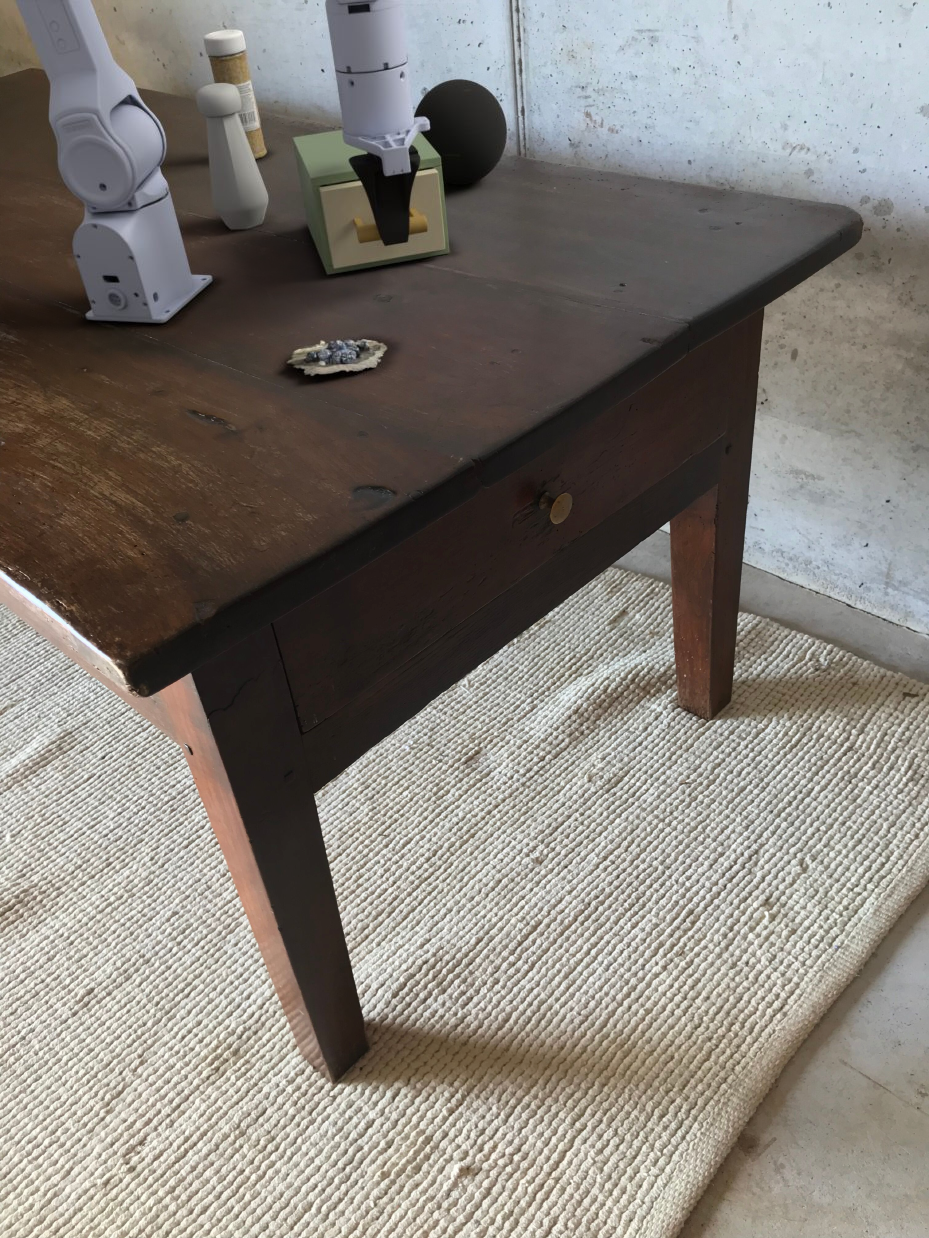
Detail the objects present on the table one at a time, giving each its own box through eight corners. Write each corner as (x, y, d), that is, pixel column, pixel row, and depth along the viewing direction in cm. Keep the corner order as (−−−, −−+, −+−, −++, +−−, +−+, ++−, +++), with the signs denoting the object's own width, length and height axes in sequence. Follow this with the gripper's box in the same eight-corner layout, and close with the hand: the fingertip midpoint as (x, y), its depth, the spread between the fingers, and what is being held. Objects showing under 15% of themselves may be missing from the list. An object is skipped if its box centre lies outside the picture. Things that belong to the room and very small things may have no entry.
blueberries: (274, 363, 81) (269, 341, 79) (359, 330, 84) (356, 308, 83) (319, 392, 76) (314, 368, 75) (406, 356, 80) (403, 333, 78)
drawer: (456, 265, 91) (449, 186, 86) (340, 286, 89) (327, 206, 85) (417, 207, 103) (409, 135, 99) (315, 224, 102) (302, 152, 97)
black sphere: (399, 185, 112) (387, 84, 105) (471, 161, 116) (464, 64, 110) (454, 204, 106) (445, 99, 99) (528, 179, 110) (524, 76, 103)
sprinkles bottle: (265, 149, 127) (241, 26, 118) (268, 159, 124) (243, 33, 115) (229, 154, 127) (202, 32, 118) (230, 165, 123) (202, 39, 115)
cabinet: (449, 253, 95) (440, 156, 90) (327, 275, 94) (310, 177, 88) (419, 208, 106) (409, 119, 100) (308, 227, 104) (292, 137, 98)
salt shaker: (261, 232, 104) (231, 93, 96) (209, 233, 105) (175, 95, 97) (280, 212, 108) (253, 77, 100) (230, 213, 109) (199, 79, 101)
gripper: (440, 75, 74) (458, 260, 83) (404, 42, 86) (423, 209, 94) (345, 89, 74) (372, 275, 82) (321, 55, 85) (347, 222, 93)
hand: (394, 241), depth 88 cm, fingers closed, pressing on drawer
